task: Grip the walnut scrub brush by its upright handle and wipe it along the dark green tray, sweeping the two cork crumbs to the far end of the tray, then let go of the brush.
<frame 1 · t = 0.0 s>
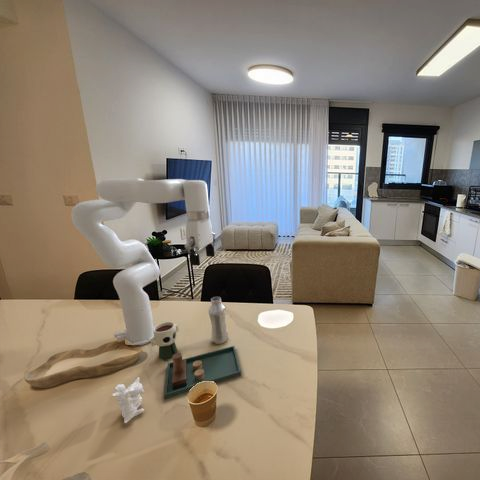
hand: (203, 260, 98), 37 cm above the table, tool pointing down, fingers open, 9 cm apart
tray: (204, 372, 93), on the table
character mug: (168, 356, 101), on the table
brush: (180, 377, 90), point 1 cm above the table, touching tray
crumb b: (199, 377, 90), point 1 cm above the table, touching tray
plastic bottle: (220, 341, 110), on the table
crumb a: (197, 367, 94), point 1 cm above the table, touching tray
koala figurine: (132, 415, 77), on the table
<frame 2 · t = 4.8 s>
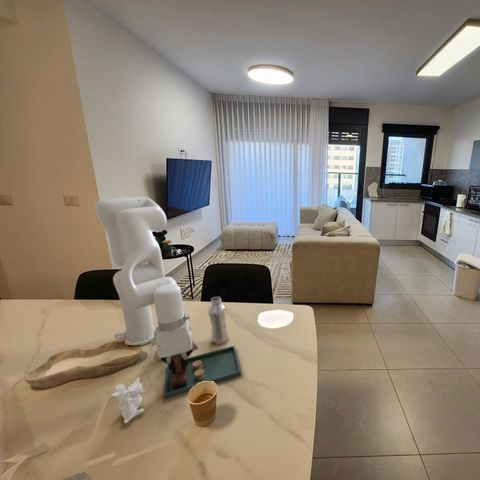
hand: (179, 368, 89), 4 cm above the table, tool pointing down, fingers closed on brush, 2 cm apart
brush: (180, 377, 90), point 1 cm above the table, touching gripper, tray
everything else where it was.
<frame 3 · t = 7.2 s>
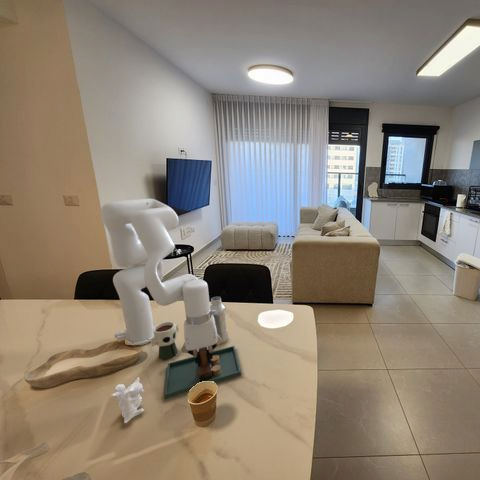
hand: (204, 361, 92), 4 cm above the table, tool pointing down, fingers closed on brush, 2 cm apart
brush: (205, 370, 93), point 1 cm above the table, touching crumb b, gripper
crumb b: (216, 372, 92), point 1 cm above the table, touching brush, tray
crumb a: (215, 362, 97), point 1 cm above the table
everything else where it was.
when the fingers open (4 cm above the table, at t = 8.9 s): brush stays where it is, resting on tray.
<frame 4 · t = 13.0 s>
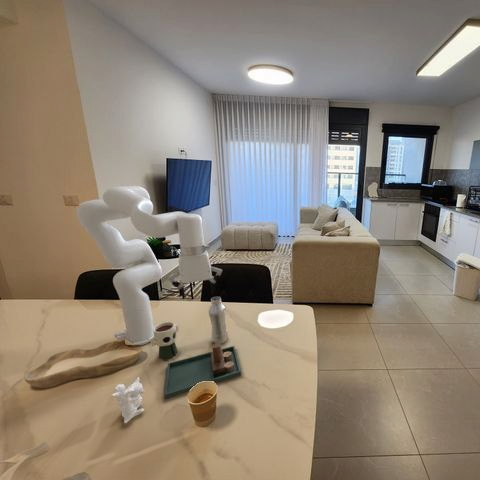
hand: (198, 294, 94), 26 cm above the table, tool pointing down, fingers open, 9 cm apart
brush: (218, 366, 95), point 1 cm above the table, touching tray
crumb b: (229, 369, 94), point 1 cm above the table, touching tray
crumb a: (227, 358, 99), point 1 cm above the table, touching tray
everything else where it was.
at the end: crumb a inside the target area (3.1 cm from its centre), point 0.8 cm above the table; crumb b inside the target area (3.1 cm from its centre), point 0.8 cm above the table; the gripper is holding nothing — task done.
